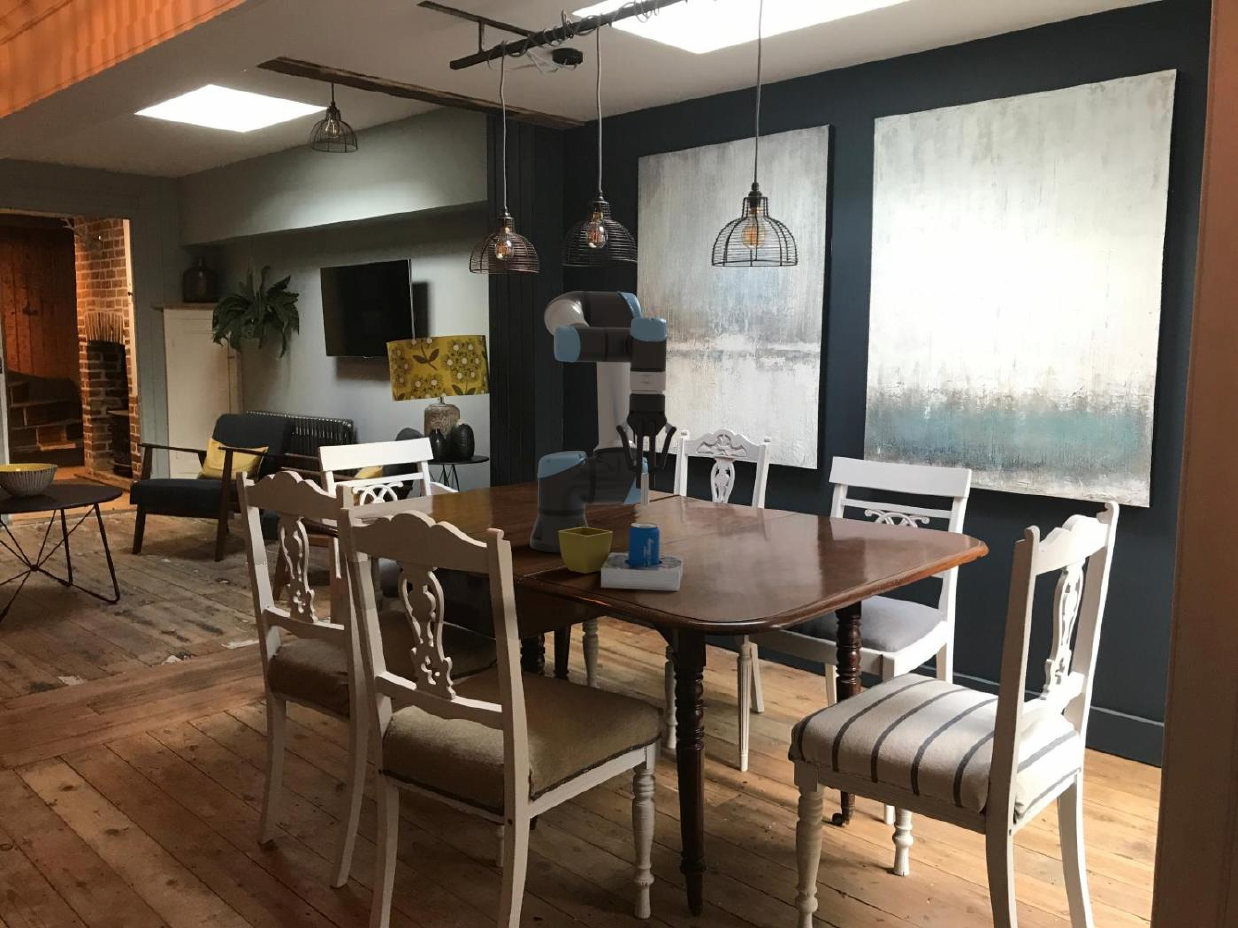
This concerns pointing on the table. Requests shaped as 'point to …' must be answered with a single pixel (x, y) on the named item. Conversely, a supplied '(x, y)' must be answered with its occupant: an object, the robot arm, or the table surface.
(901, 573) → the table surface
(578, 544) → the flower pot
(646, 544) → the beverage can
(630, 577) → the jig
